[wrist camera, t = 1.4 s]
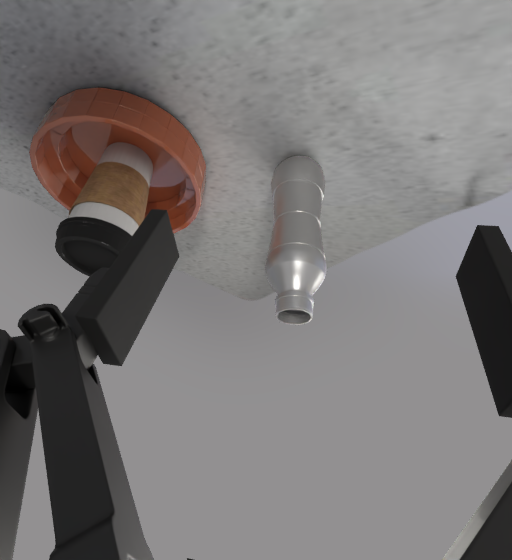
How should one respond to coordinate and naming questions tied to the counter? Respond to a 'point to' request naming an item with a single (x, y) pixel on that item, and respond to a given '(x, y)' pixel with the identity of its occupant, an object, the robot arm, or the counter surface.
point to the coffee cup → (106, 209)
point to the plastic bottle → (296, 238)
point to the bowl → (111, 129)
